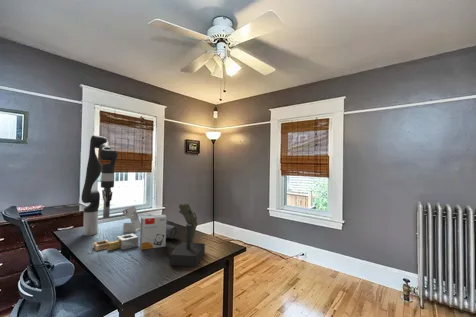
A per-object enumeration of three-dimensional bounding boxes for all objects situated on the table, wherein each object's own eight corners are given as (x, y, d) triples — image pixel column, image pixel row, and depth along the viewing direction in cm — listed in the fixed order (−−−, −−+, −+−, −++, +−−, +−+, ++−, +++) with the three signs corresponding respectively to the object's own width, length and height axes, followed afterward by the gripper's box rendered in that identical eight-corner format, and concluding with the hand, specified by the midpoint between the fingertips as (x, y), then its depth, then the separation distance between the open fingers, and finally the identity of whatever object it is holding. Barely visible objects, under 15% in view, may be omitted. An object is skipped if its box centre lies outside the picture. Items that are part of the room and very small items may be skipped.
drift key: (107, 249, 144) (108, 242, 144) (123, 245, 150) (123, 239, 150) (109, 250, 142) (109, 243, 142) (124, 246, 148) (124, 240, 149)
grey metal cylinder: (102, 217, 149) (102, 195, 149) (108, 216, 151) (109, 195, 151) (103, 218, 146) (104, 196, 146) (110, 217, 149) (111, 196, 149)
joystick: (179, 252, 143) (179, 220, 143) (205, 253, 141) (205, 221, 141) (166, 266, 124) (167, 229, 124) (196, 267, 122) (196, 230, 122)
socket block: (116, 245, 151) (117, 236, 151) (132, 242, 158) (132, 233, 158) (121, 250, 144) (122, 240, 144) (138, 246, 151) (138, 237, 151)
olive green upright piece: (203, 246, 150) (194, 201, 153) (198, 250, 143) (189, 203, 146) (185, 248, 155) (177, 204, 157) (179, 252, 148) (171, 206, 150)
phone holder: (133, 232, 178) (134, 209, 179) (121, 232, 179) (122, 209, 179) (144, 226, 196) (145, 205, 196) (133, 226, 196) (133, 205, 197)
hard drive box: (140, 250, 144) (141, 218, 144) (139, 246, 151) (140, 216, 151) (166, 246, 151) (166, 216, 151) (164, 242, 158) (164, 214, 158)
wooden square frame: (93, 247, 148) (93, 242, 148) (107, 244, 153) (107, 239, 153) (96, 250, 142) (96, 246, 142) (110, 247, 148) (110, 242, 148)
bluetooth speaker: (144, 237, 169) (144, 223, 169) (153, 233, 177) (153, 220, 177) (169, 241, 160) (169, 227, 160) (177, 237, 169) (177, 224, 169)
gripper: (117, 180, 147) (116, 207, 146) (110, 179, 156) (109, 204, 156) (104, 181, 141) (103, 209, 141) (98, 179, 151) (97, 205, 151)
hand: (106, 206), depth 149 cm, fingers closed on grey metal cylinder, 3 cm apart
